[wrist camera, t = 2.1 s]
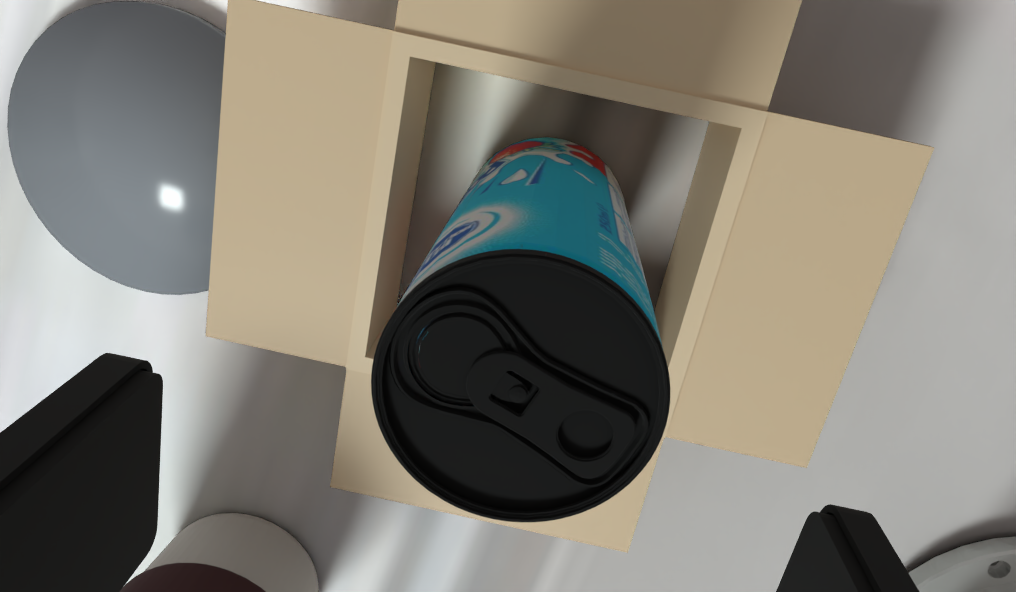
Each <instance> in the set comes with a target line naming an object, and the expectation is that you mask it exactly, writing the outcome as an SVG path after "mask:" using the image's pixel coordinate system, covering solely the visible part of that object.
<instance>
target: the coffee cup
mask: <svg viewBox="0 0 1016 592" xmlns="http://www.w3.org/2000/svg"><path fill="white" fill-rule="evenodd" d="M318 589H319V587H318V577H317V574H316V570H315V567H314V565H313V562H312V560H311V559H310V557H309V555H308V553H307V552H306V550H305V549H304V548H303V547H302V546H301V544H300V543H299V542H298V541H297V540H296V539H295V538H294V537H293V536H291V535H290V534H289V533H288V532H287V531H285V530H284V529H282V528H280V527H279V526H277V525H275V524H274V523H272V522H269V521H267V520H264V519H262V518H259V517H256V516H252V515H247V514H240V513H223V514H215V515H211V516H207V517H204V518H201V519H199V520H197V521H195V522H193V523H192V524H190V525H188V526H187V527H185V528H184V529H183V530H182V531H181V532H179V534H178V535H177V536H176V537H175V538H174V539H173V540H172V541H171V542H170V543H169V544H168V546H167V547H166V548H165V549H164V550H163V551H162V552H161V553H160V554H159V556H158V557H157V558H156V559H155V560H154V561H153V562H152V563H151V564H150V566H149V567H148V568H147V569H146V570H145V571H144V572H143V573H141V574H139V575H137V576H136V577H134V578H133V579H132V580H131V581H129V582H128V583H127V584H126V585H125V586H124V587H123V588H122V589H121V590H120V592H318Z"/></svg>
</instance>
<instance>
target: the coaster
mask: <svg viewBox="0 0 1016 592" xmlns="http://www.w3.org/2000/svg"><path fill="white" fill-rule="evenodd" d="M225 38H226V33H224V32H223V31H222V30H221V29H219V28H217V27H216V26H214V25H212V24H211V23H209V22H207V21H206V20H204V19H202V18H200V17H198V16H195V15H193V14H191V13H188V12H186V11H184V10H181V9H177V8H174V7H170V6H167V5H163V4H157V3H150V2H139V1H114V2H108V3H101V4H95V5H92V6H89V7H86V8H83V9H79V10H77V11H75V12H73V13H71V14H69V15H67V16H65V17H63V18H61V19H60V20H59V21H57V22H56V23H55V24H53V25H52V26H50V27H49V28H48V29H47V30H46V31H45V32H44V33H43V34H42V35H41V36H40V37H39V38H38V39H37V40H36V41H35V42H34V44H33V45H32V46H31V48H30V49H29V51H28V52H27V53H26V55H25V56H24V58H23V60H22V62H21V64H20V66H19V68H18V71H17V73H16V76H15V79H14V82H13V85H12V88H11V93H10V99H9V105H8V124H7V127H8V138H9V147H10V151H11V156H12V161H13V165H14V168H15V171H16V174H17V177H18V179H19V182H20V185H21V187H22V189H23V191H24V193H25V195H26V197H27V199H28V201H29V203H30V205H31V206H32V208H33V210H34V211H35V213H36V214H37V216H38V218H39V219H40V220H41V222H42V223H43V224H44V225H45V227H46V228H47V229H48V231H49V232H50V233H51V234H52V235H53V236H54V237H55V239H56V240H57V241H58V242H59V243H60V244H61V245H62V246H63V247H64V248H65V249H66V250H68V251H69V252H70V253H71V254H72V255H73V256H75V257H76V258H77V259H78V260H79V261H81V262H82V263H84V264H85V265H87V266H88V267H90V268H91V269H92V270H94V271H96V272H98V273H99V274H101V275H103V276H105V277H107V278H109V279H110V280H113V281H115V282H118V283H120V284H123V285H125V286H128V287H131V288H135V289H138V290H142V291H146V292H152V293H158V294H174V295H182V294H192V293H199V292H203V291H207V290H209V279H210V264H211V248H212V233H213V218H214V203H215V188H216V173H217V158H218V143H219V128H220V113H221V98H222V83H223V68H224V53H225Z"/></svg>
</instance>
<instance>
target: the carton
mask: <svg viewBox="0 0 1016 592" xmlns="http://www.w3.org/2000/svg"><path fill="white" fill-rule="evenodd" d="M801 3H802V0H398V7H397V14H396V21H395V28H394V30H391V29H386V28H381V27H377V26H372V25H367V24H363V23H358V22H354V21H349V20H344V19H340V18H335V17H330V16H326V15H321V14H317V13H312V12H307V11H303V10H298V9H293V8H289V7H284V6H280V5H275V4H270V3H266V2H261V1H256V0H228V8H227V23H226V38H225V53H224V68H223V83H222V98H221V113H220V128H219V143H218V158H217V173H216V188H215V203H214V218H213V233H212V248H211V264H210V279H209V294H208V309H207V324H206V336H207V337H212V338H216V339H221V340H226V341H230V342H235V343H239V344H244V345H248V346H253V347H257V348H262V349H267V350H271V351H276V352H280V353H285V354H289V355H294V356H298V357H303V358H308V359H312V360H317V361H321V362H326V363H330V364H335V365H340V366H344V367H346V369H347V370H346V377H345V384H344V391H343V398H342V405H341V412H340V419H339V427H338V434H337V441H336V448H335V455H334V462H333V469H332V476H331V484H330V487H332V488H337V489H341V490H346V491H350V492H355V493H359V494H364V495H368V496H373V497H378V498H382V499H387V500H391V501H396V502H400V503H405V504H409V505H414V506H418V507H423V508H427V509H432V510H437V511H441V512H446V513H450V514H455V515H459V516H464V517H468V518H473V519H477V520H482V521H486V522H491V523H496V524H500V525H505V526H509V527H514V528H518V529H523V530H527V531H532V532H536V533H541V534H545V535H550V536H555V537H559V538H564V539H568V540H573V541H577V542H582V543H586V544H591V545H595V546H600V547H604V548H609V549H614V550H618V551H623V552H627V553H628V550H629V547H630V544H631V541H632V538H633V534H634V531H635V528H636V525H637V522H638V519H639V515H640V512H641V509H642V506H643V503H644V500H645V496H646V493H647V490H648V487H649V484H650V481H651V477H652V474H653V471H654V468H655V465H656V462H657V458H658V455H659V452H660V449H661V446H662V443H663V439H665V437H668V438H672V439H677V440H682V441H686V442H691V443H695V444H700V445H704V446H709V447H713V448H718V449H723V450H727V451H732V452H736V453H741V454H745V455H750V456H755V457H759V458H764V459H768V460H773V461H777V462H782V463H786V464H791V465H796V466H800V467H805V468H807V466H808V463H809V461H810V458H811V456H812V453H813V451H814V448H815V446H816V443H817V441H818V438H819V436H820V433H821V431H822V428H823V426H824V423H825V421H826V418H827V416H828V413H829V411H830V408H831V406H832V403H833V401H834V398H835V396H836V393H837V391H838V388H839V386H840V383H841V381H842V378H843V375H844V373H845V370H846V368H847V365H848V363H849V360H850V358H851V355H852V353H853V350H854V348H855V345H856V343H857V340H858V338H859V335H860V333H861V330H862V328H863V325H864V323H865V320H866V318H867V315H868V313H869V310H870V308H871V305H872V303H873V300H874V298H875V295H876V293H877V290H878V288H879V285H880V283H881V280H882V278H883V275H884V273H885V270H886V268H887V265H888V263H889V260H890V258H891V255H892V253H893V250H894V248H895V245H896V243H897V240H898V238H899V235H900V233H901V230H902V228H903V225H904V223H905V220H906V218H907V215H908V213H909V210H910V208H911V205H912V203H913V200H914V198H915V195H916V192H917V190H918V187H919V185H920V182H921V180H922V177H923V175H924V172H925V170H926V167H927V165H928V162H929V160H930V157H931V155H932V152H933V150H934V148H933V147H931V146H927V145H922V144H918V143H913V142H908V141H904V140H899V139H894V138H890V137H885V136H881V135H876V134H871V133H867V132H862V131H857V130H853V129H848V128H844V127H839V126H834V125H830V124H825V123H820V122H816V121H811V120H807V119H802V118H797V117H793V116H788V115H783V114H779V113H774V112H770V111H767V110H768V107H769V104H770V101H771V98H772V94H773V91H774V88H775V85H776V82H777V79H778V75H779V72H780V69H781V66H782V63H783V60H784V56H785V53H786V50H787V47H788V44H789V41H790V37H791V34H792V31H793V28H794V25H795V22H796V18H797V15H798V12H799V9H800V6H801ZM436 62H438V63H442V64H447V65H452V66H456V67H461V68H466V69H470V70H475V71H479V72H484V73H489V74H493V75H498V76H502V77H507V78H512V79H516V80H521V81H526V82H530V83H535V84H539V85H544V86H549V87H553V88H558V89H563V90H567V91H572V92H576V93H581V94H586V95H590V96H595V97H599V98H604V99H609V100H613V101H618V102H623V103H627V104H632V105H636V106H641V107H646V108H650V109H655V110H660V111H664V112H669V113H673V114H678V115H683V116H687V117H692V118H696V119H701V120H706V121H710V122H709V125H708V129H707V132H706V135H705V139H704V142H703V146H702V149H701V153H700V156H699V159H698V163H697V166H696V170H695V173H694V177H693V180H692V184H691V187H690V190H689V194H688V197H687V201H686V204H685V208H684V211H683V214H682V218H681V221H680V225H679V228H678V232H677V235H676V238H675V242H674V245H673V249H672V252H671V256H670V259H669V263H668V266H667V269H666V273H665V276H664V280H663V283H662V287H661V290H660V293H659V297H658V300H657V304H656V307H655V311H654V314H655V317H656V322H657V326H658V330H659V334H660V338H661V342H662V347H663V351H664V354H665V358H666V361H667V366H668V371H669V377H670V408H669V415H668V419H667V424H666V427H665V430H664V433H663V436H662V438H661V441H660V443H659V445H658V447H657V449H656V451H655V452H654V454H653V456H652V458H651V459H650V461H649V462H648V463H647V465H646V466H645V467H644V469H643V470H642V471H641V472H640V473H639V474H638V476H637V477H636V478H635V479H634V480H633V481H632V482H631V483H630V484H629V485H628V486H626V487H625V488H624V489H623V490H621V491H620V492H619V493H618V494H616V495H615V496H613V497H612V498H610V499H609V500H607V501H606V502H604V503H602V504H600V505H598V506H596V507H594V508H592V509H590V510H587V511H585V512H582V513H579V514H576V515H573V516H570V517H566V518H562V519H557V520H551V521H544V522H508V521H501V520H495V519H490V518H486V517H482V516H479V515H476V514H472V513H469V512H467V511H464V510H462V509H460V508H457V507H455V506H453V505H451V504H449V503H447V502H445V501H444V500H442V499H440V498H439V497H437V496H436V495H434V494H433V493H431V492H430V491H428V490H427V489H426V488H424V487H423V486H422V485H421V484H420V483H418V482H417V481H416V480H415V479H414V478H413V477H412V476H411V475H410V474H409V473H408V472H407V471H406V470H405V469H404V468H403V466H402V465H401V464H400V463H399V462H398V460H397V459H396V457H395V456H394V454H393V453H392V452H391V450H390V448H389V446H388V445H387V443H386V441H385V439H384V437H383V435H382V433H381V430H380V428H379V425H378V422H377V419H376V416H375V411H374V407H373V401H372V394H371V374H372V365H373V359H374V355H375V351H376V348H377V344H378V342H379V339H380V337H381V334H382V332H383V330H384V328H385V326H386V324H387V323H388V321H389V319H390V317H391V316H392V314H393V313H394V311H395V309H396V308H397V306H398V305H397V300H398V294H399V288H400V282H401V276H402V269H403V263H404V257H405V251H406V245H407V238H408V232H409V226H410V220H411V213H412V207H413V201H414V195H415V189H416V182H417V176H418V170H419V164H420V158H421V151H422V145H423V139H424V133H425V127H426V120H427V114H428V108H429V102H430V96H431V89H432V83H433V77H434V71H435V64H436Z"/></svg>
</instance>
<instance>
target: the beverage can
mask: <svg viewBox="0 0 1016 592" xmlns="http://www.w3.org/2000/svg"><path fill="white" fill-rule="evenodd" d="M371 394H372V401H373V407H374V411H375V416H376V419H377V422H378V425H379V428H380V430H381V433H382V435H383V437H384V439H385V441H386V443H387V445H388V446H389V448H390V450H391V452H392V453H393V454H394V456H395V457H396V459H397V460H398V462H399V463H400V464H401V465H402V466H403V468H404V469H405V470H406V471H407V472H408V473H409V474H410V475H411V476H412V477H413V478H414V479H415V480H416V481H417V482H418V483H420V484H421V485H422V486H423V487H424V488H426V489H427V490H428V491H430V492H431V493H433V494H434V495H436V496H437V497H439V498H440V499H442V500H444V501H445V502H447V503H449V504H451V505H453V506H455V507H457V508H460V509H462V510H464V511H467V512H469V513H472V514H476V515H479V516H482V517H486V518H490V519H495V520H501V521H508V522H544V521H551V520H557V519H562V518H566V517H570V516H573V515H576V514H579V513H582V512H585V511H587V510H590V509H592V508H594V507H596V506H598V505H600V504H602V503H604V502H606V501H607V500H609V499H610V498H612V497H613V496H615V495H616V494H618V493H619V492H620V491H621V490H623V489H624V488H625V487H626V486H628V485H629V484H630V483H631V482H632V481H633V480H634V479H635V478H636V477H637V476H638V474H639V473H640V472H641V471H642V470H643V469H644V467H645V466H646V465H647V463H648V462H649V461H650V459H651V458H652V456H653V454H654V452H655V451H656V449H657V447H658V445H659V443H660V441H661V438H662V436H663V433H664V430H665V427H666V424H667V419H668V415H669V408H670V377H669V371H668V366H667V361H666V358H665V354H664V351H663V347H662V342H661V338H660V334H659V330H658V326H657V322H656V317H655V314H654V310H653V306H652V302H651V298H650V294H649V290H648V287H647V283H646V279H645V275H644V271H643V268H642V264H641V260H640V257H639V253H638V250H637V246H636V242H635V239H634V235H633V231H632V228H631V224H630V221H629V217H628V213H627V210H626V206H625V200H624V197H623V194H622V191H621V188H620V185H619V183H618V181H617V180H616V178H615V177H614V175H613V173H612V172H611V170H610V169H609V167H608V166H607V165H606V164H605V163H604V162H603V161H602V160H601V159H600V158H599V157H598V156H597V155H595V154H594V153H592V152H590V151H589V150H587V149H586V148H584V147H583V146H581V145H578V144H575V143H573V142H570V141H567V140H564V139H556V138H549V137H543V138H532V139H527V140H523V141H520V142H517V143H514V144H511V145H510V146H508V147H506V148H504V149H503V150H501V151H499V152H497V153H496V154H495V155H494V156H493V157H492V158H491V159H489V160H488V161H487V162H486V163H485V164H484V165H483V166H482V168H481V169H480V171H479V172H478V174H477V175H476V177H475V178H474V179H473V182H472V184H471V185H470V187H469V189H468V190H467V192H466V193H465V195H464V197H463V198H462V200H461V201H460V203H459V205H458V206H457V208H456V210H455V211H454V213H453V214H452V216H451V218H450V219H449V221H448V222H447V224H446V226H445V227H444V229H443V230H442V232H441V234H440V235H439V237H438V238H437V240H436V242H435V243H434V245H433V247H432V248H431V250H430V252H429V253H428V255H427V257H426V258H425V260H424V262H423V263H422V265H421V267H420V268H419V270H418V272H417V273H416V275H415V277H414V278H413V280H412V282H411V283H410V285H409V287H408V289H407V290H406V292H405V294H404V296H403V297H402V299H401V301H400V302H399V304H398V306H397V308H396V309H395V311H394V313H393V314H392V316H391V317H390V319H389V321H388V323H387V324H386V326H385V328H384V330H383V332H382V334H381V337H380V339H379V342H378V344H377V348H376V351H375V355H374V359H373V365H372V374H371Z"/></svg>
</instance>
